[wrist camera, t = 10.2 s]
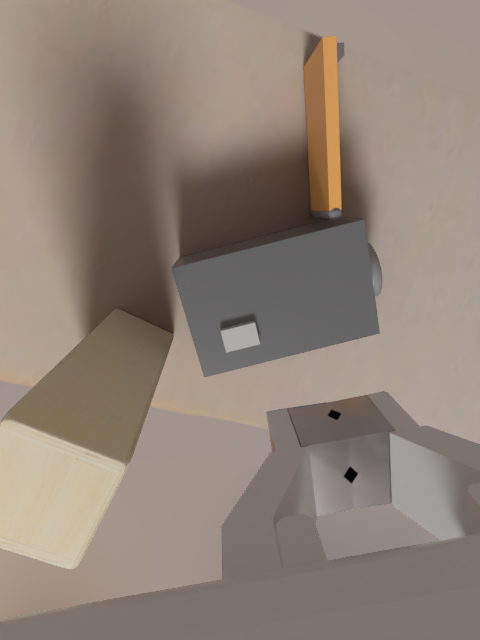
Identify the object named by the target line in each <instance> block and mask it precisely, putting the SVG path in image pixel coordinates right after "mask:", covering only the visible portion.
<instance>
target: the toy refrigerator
mask: <svg viewBox="0 0 480 640" xmlns="http://www.w3.org/2000/svg"><path fill="white" fill-rule="evenodd" d="M173 337H174V335H173V334H172V333H170V332H168V331H166V330H163V329H161V328H159V327H157V326H155V325H152V324H150V323H148V322H146V321H144V320H142V319H140V318H137V317H135V316H133V315H131V314H129V313H126V312H124V311H122V310H120V309H115V310H114V311H112V312H111V313H110V314H109V315H108V316H107V317H106V318H105V319H104V320H103V321H102V322H101V323H100V324H99V325H98V326H97V327H96V328H95V329H94V330H93V331H92V332H91V333H90V334H88V335H87V336H86V337H85V338H84V339H83V340H82V341H81V342H80V343H79V344H78V345H77V346H76V347H75V348H74V349H73V350H72V351H71V352H70V353H69V354H68V355H67V356H66V357H65V358H64V359H63V360H61V361H60V362H59V363H58V364H57V365H56V366H55V367H54V368H53V369H52V370H51V371H50V372H49V373H48V374H47V375H46V376H45V377H43V378H42V379H41V380H40V381H39V382H38V383H37V384H36V385H35V386H34V387H33V388H32V389H31V390H30V391H29V392H28V393H27V394H26V395H25V396H24V397H23V398H22V399H21V400H19V401H18V402H17V403H16V405H14V406H13V407H12V408H11V409H10V410H9V411H8V412H7V413H6V415H5V416H4V417H3V419H2V421H1V423H0V548H2V549H5V550H9V551H12V552H15V553H18V554H22V555H24V556H28V557H31V558H35V559H37V560H41V561H44V562H47V563H50V564H53V565H56V566H60V567H63V568H67V569H73V568H75V567H76V566H77V565H78V564H79V563H80V561H81V559H82V558H83V556H84V553H85V552H86V550H87V547H88V546H89V544H90V542H91V540H92V538H93V536H94V534H95V532H96V530H97V528H98V526H99V524H100V522H101V520H102V518H103V516H104V514H105V512H106V510H107V508H108V506H109V504H110V502H111V500H112V498H113V496H114V494H115V492H116V490H117V488H118V486H119V484H120V482H121V480H122V478H123V476H124V474H125V472H126V470H127V469H128V466H129V464H130V461H131V459H132V457H133V454H134V450H135V447H136V445H137V442H138V439H139V436H140V433H141V430H142V427H143V424H144V421H145V418H146V416H147V413H148V410H149V407H150V404H151V401H152V398H153V395H154V392H155V389H156V387H157V384H158V381H159V378H160V375H161V372H162V369H163V366H164V363H165V361H166V358H167V355H168V352H169V349H170V346H171V343H172V340H173Z"/></svg>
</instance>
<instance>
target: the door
mask: <svg viewBox="0 0 480 640" xmlns="http://www.w3.org/2000/svg"><path fill="white" fill-rule="evenodd" d="M343 56H344V43H337V36H329V37H323V38H322V39H321V41H320V42H319V44H318V45H317V47H316V49H315V50H314V52H313V53H312V55H311V57H310V58H309V60H308V61H307V63H306V65H305V66H304V84H305V103H306V122H307V141H308V160H309V179H310V198H311V210H312V212H311V215H312V217H313V218H317V219H326V220H338V219H340V218H341V215H342V212H341V210H342V206H341V171H340V137H339V103H338V68H337V63H338V62H339V61H340V60H341V58H342V57H343Z"/></svg>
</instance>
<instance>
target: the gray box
mask: <svg viewBox="0 0 480 640" xmlns="http://www.w3.org/2000/svg"><path fill="white" fill-rule="evenodd" d="M172 272H173V275H174V278H175V282H176V285H177V288H178V292H179V295H180V298H181V301H182V305H183V308H184V311H185V315H186V318H187V321H188V325H189V328H190V331H191V335H192V338H193V341H194V345H195V348H196V351H197V355H198V358H199V361H200V364H201V368H202V371H203V374H204V377H207V376H211V375H215V374H219V373H223V372H227V371H231V370H235V369H239V368H243V367H247V366H251V365H255V364H259V363H263V362H267V361H271V360H275V359H279V358H283V357H287V356H291V355H295V354H299V353H303V352H307V351H311V350H315V349H319V348H323V347H327V346H331V345H335V344H339V343H343V342H347V341H351V340H355V339H359V338H363V337H367V336H371V335H375V334H379V333H380V332H379V324H378V317H377V309H376V302H375V296H378V295H379V294H380V292H381V289H382V273H381V267H380V263H379V260H378V257H377V254H376V252H375V250H374V249H373V247H372V246H371V245H370V244H369V243H368V242H367V235H366V228H365V220H364V219H353V218H340V219H338V220H324V221H320V222H316V223H312V224H308V225H304V226H300V227H296V228H293V229H289V230H285V231H281V232H277V233H273V234H269V235H265V236H261V237H257V238H253V239H249V240H245V241H241V242H237V243H234V244H230V245H226V246H222V247H218V248H214V249H210V250H206V251H202V252H198V253H194V254H190V255H186V256H182V257H179V259H178V260H177V262H176V263H175V264H174V266H173V267H172Z"/></svg>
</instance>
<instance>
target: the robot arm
mask: <svg viewBox="0 0 480 640" xmlns="http://www.w3.org/2000/svg"><path fill="white" fill-rule="evenodd" d="M267 422H268V429H269V435H270V442H271V449H272V452H271V453H270V454H269V455H268V457H267V458H266V460H265V461H264V463H263V464H262V466H261V467H260V469H259V470H258V472H257V474H256V475H255V477H254V478H253V479H252V481H251V482H250V484H249V486H248V487H247V488H246V490H245V492H244V493H243V495H242V496H241V498H240V499H239V501H238V502H237V504H236V505H235V507H234V508H233V510H232V511H231V513H230V514H229V516H228V517H227V519H226V520H225V522H224V523H223V525H222V580H217V581H211V582H206V583H200V584H194V585H188V586H183V587H177V588H172V589H166V590H160V591H155V592H149V593H143V594H137V595H132V596H126V597H120V598H114V599H109V600H103V601H98V602H92V603H86V604H81V605H75V606H69V607H64V608H59V609H53V610H47V611H41V612H36V613H30V614H25V615H19V616H14V617H8V618H2V619H0V640H480V444H477V443H474V442H471V441H468V440H466V439H463V438H460V437H457V436H454V435H452V434H449V433H446V432H443V431H440V430H437V429H435V428H432V427H429V426H421V427H420V426H419V425H418V424H417V423H416V422H415V421H414V420H413V419H412V418H411V417H410V416H409V415H408V413H407V412H406V411H405V410H404V409H403V408H402V407H401V406H400V405H399V404H398V403H397V402H396V401H395V400H394V399H393V398H392V397H391V396H390V395H389V394H388V392H384V391H383V392H378V393H374V394H369V395H364V396H359V397H354V398H349V399H344V400H339V401H334V402H329V403H319V404H313V405H306V406H299V407H293V408H287V409H286V408H284V409H279V410H274V411H268V412H267ZM390 503H392V506H394V507H395V508H397V509H398V510H399V511H401V512H402V513H404V514H405V515H406V516H408V517H409V518H411V519H412V520H413V521H415V522H416V523H418V524H419V525H420V526H422V527H423V528H424V529H426V530H427V531H429V532H430V533H431V534H433V535H434V536H436V537H437V538H438V539H440V540H441V541H435V542H429V543H424V544H418V545H412V546H407V547H401V548H395V549H390V550H384V551H379V552H373V553H367V554H362V555H356V556H350V557H345V558H339V559H334V560H329V561H327V558H326V555H325V552H324V549H323V546H322V543H321V540H320V537H319V534H318V531H317V528H316V525H315V523H316V520H317V516H321V515H326V514H331V513H336V512H340V511H345V510H350V509H355V508H363V507H370V506H376V505H382V504H390Z"/></svg>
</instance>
